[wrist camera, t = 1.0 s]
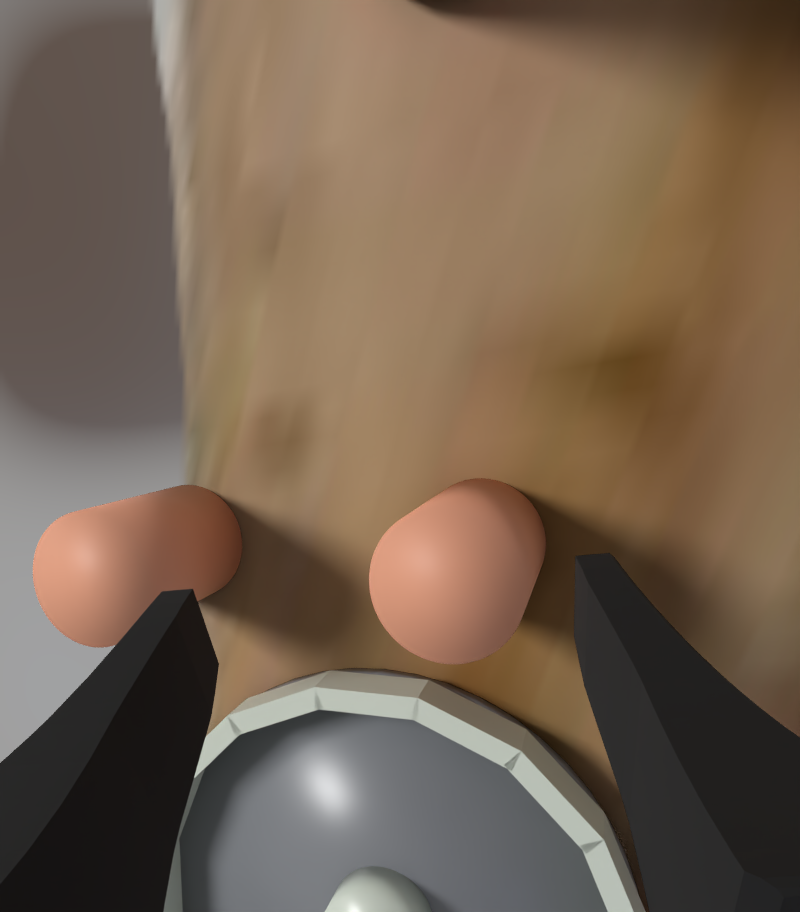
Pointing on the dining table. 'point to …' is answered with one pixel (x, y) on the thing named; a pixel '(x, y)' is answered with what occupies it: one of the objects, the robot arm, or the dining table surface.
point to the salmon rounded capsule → (458, 571)
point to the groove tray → (389, 808)
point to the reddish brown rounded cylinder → (133, 559)
